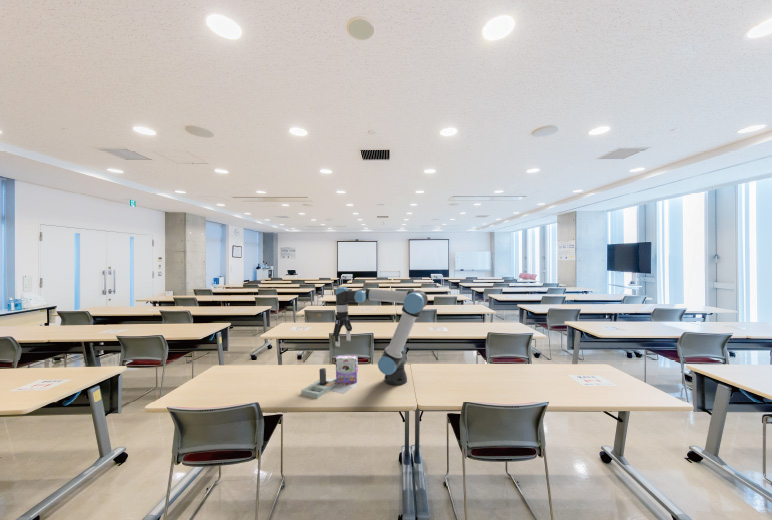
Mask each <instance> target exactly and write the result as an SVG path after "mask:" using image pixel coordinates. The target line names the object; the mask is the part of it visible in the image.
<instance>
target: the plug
mask: <svg viewBox="0 0 772 520" xmlns="http://www.w3.org/2000/svg"><path fill="white" fill-rule="evenodd" d="M319 379H320V385H322V386H325V385H326V381H327V369H326V368H323V367H322V368H320V369H319Z"/></svg>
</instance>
